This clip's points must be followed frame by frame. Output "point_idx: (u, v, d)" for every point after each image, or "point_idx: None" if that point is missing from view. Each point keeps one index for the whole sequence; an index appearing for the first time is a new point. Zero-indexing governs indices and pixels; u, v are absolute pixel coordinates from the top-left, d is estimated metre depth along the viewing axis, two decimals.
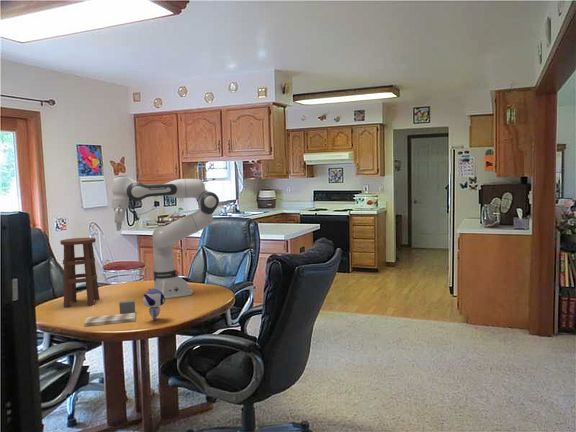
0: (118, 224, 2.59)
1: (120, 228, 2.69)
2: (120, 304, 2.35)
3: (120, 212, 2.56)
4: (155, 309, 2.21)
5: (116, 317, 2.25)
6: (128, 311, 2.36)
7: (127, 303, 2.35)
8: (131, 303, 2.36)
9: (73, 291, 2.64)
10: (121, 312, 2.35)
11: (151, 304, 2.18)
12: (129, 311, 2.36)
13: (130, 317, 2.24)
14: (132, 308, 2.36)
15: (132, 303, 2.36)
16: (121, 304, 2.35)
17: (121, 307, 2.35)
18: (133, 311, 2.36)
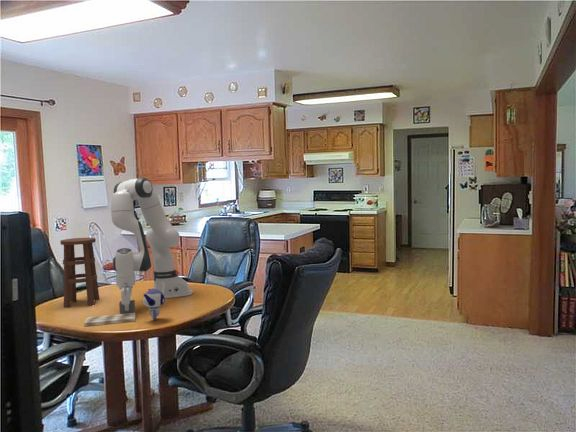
0: (126, 304, 2.33)
1: None
2: (120, 304, 2.35)
3: (127, 292, 2.28)
4: (155, 309, 2.21)
5: (116, 317, 2.25)
6: (128, 311, 2.36)
7: None
8: (131, 302, 2.36)
9: (73, 291, 2.64)
10: (121, 312, 2.35)
11: (151, 304, 2.18)
12: (129, 311, 2.36)
13: (130, 317, 2.24)
14: (132, 308, 2.36)
15: (132, 303, 2.36)
16: (121, 304, 2.35)
17: (121, 307, 2.35)
18: (133, 311, 2.36)
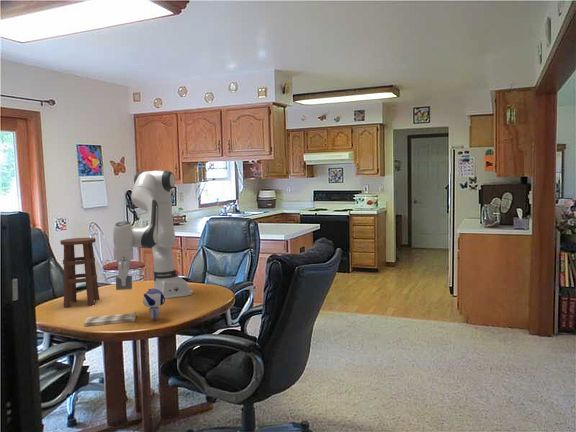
0: (123, 278, 2.24)
1: None
2: (117, 279, 2.26)
3: (124, 266, 2.19)
4: (155, 309, 2.21)
5: (116, 317, 2.25)
6: (125, 286, 2.27)
7: None
8: (128, 277, 2.27)
9: (73, 291, 2.64)
10: (117, 287, 2.26)
11: (151, 304, 2.18)
12: (126, 286, 2.27)
13: (130, 317, 2.24)
14: (129, 283, 2.28)
15: (129, 278, 2.27)
16: (118, 279, 2.26)
17: (117, 282, 2.26)
18: (130, 286, 2.28)
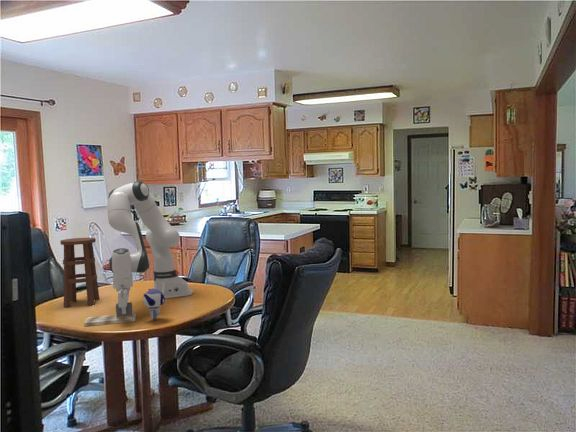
0: (123, 306, 2.22)
1: None
2: (117, 306, 2.24)
3: (124, 295, 2.17)
4: (155, 309, 2.21)
5: (116, 317, 2.25)
6: (125, 314, 2.25)
7: None
8: (128, 305, 2.25)
9: (73, 291, 2.64)
10: (118, 315, 2.24)
11: (151, 304, 2.18)
12: (126, 314, 2.25)
13: (130, 317, 2.24)
14: (129, 311, 2.25)
15: (129, 305, 2.25)
16: (118, 306, 2.24)
17: (118, 309, 2.24)
18: (130, 314, 2.25)
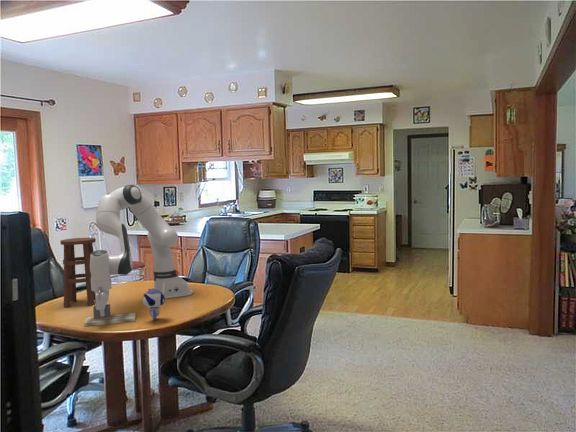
0: None
1: None
2: (94, 308, 2.21)
3: (101, 297, 2.14)
4: (155, 309, 2.21)
5: (116, 317, 2.25)
6: (103, 316, 2.22)
7: None
8: (105, 307, 2.22)
9: (73, 291, 2.64)
10: (95, 317, 2.22)
11: (151, 304, 2.18)
12: (104, 316, 2.23)
13: (130, 317, 2.24)
14: (107, 313, 2.23)
15: (107, 307, 2.23)
16: (95, 308, 2.21)
17: (95, 312, 2.21)
18: (108, 316, 2.23)
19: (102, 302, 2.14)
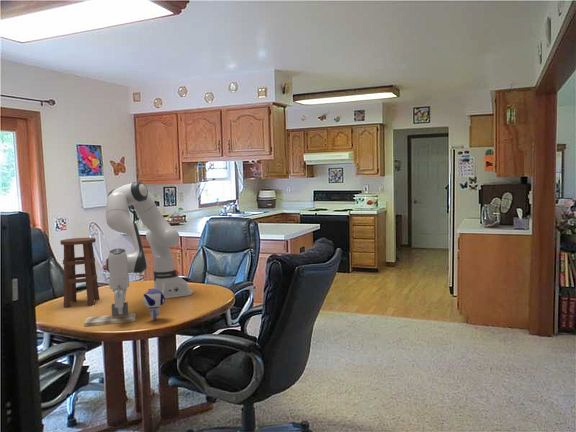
0: None
1: None
2: (112, 306, 2.23)
3: (120, 295, 2.16)
4: (155, 309, 2.21)
5: None
6: (121, 314, 2.24)
7: None
8: None
9: (73, 291, 2.64)
10: (113, 315, 2.24)
11: (151, 304, 2.18)
12: (122, 314, 2.25)
13: (130, 317, 2.24)
14: (125, 311, 2.25)
15: (125, 305, 2.25)
16: (113, 306, 2.23)
17: (113, 309, 2.23)
18: (126, 314, 2.25)
19: (121, 300, 2.16)
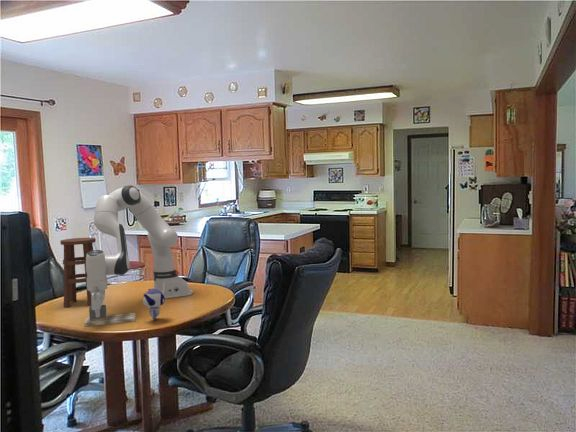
0: (97, 310, 2.18)
1: None
2: (90, 309, 2.21)
3: (97, 297, 2.14)
4: (155, 309, 2.21)
5: (116, 317, 2.25)
6: None
7: None
8: (101, 307, 2.22)
9: (73, 291, 2.64)
10: (91, 317, 2.21)
11: (151, 304, 2.18)
12: (100, 316, 2.22)
13: (130, 317, 2.24)
14: (103, 313, 2.22)
15: (103, 308, 2.22)
16: (91, 309, 2.21)
17: (91, 312, 2.21)
18: (104, 316, 2.22)
19: (98, 302, 2.14)
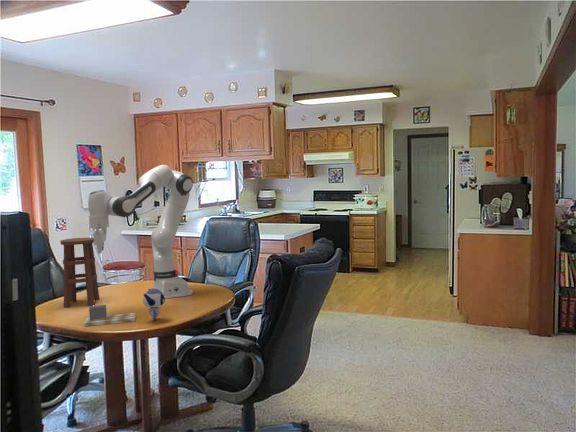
0: (99, 246, 2.29)
1: (102, 249, 2.39)
2: (90, 309, 2.21)
3: (99, 232, 2.25)
4: (155, 309, 2.21)
5: (116, 317, 2.25)
6: (99, 316, 2.22)
7: (97, 308, 2.21)
8: (101, 307, 2.22)
9: (73, 291, 2.64)
10: (91, 317, 2.21)
11: (151, 304, 2.18)
12: (100, 316, 2.22)
13: (130, 317, 2.24)
14: (103, 313, 2.22)
15: (103, 308, 2.22)
16: (91, 309, 2.21)
17: (91, 312, 2.21)
18: (104, 316, 2.22)
19: (100, 237, 2.25)
